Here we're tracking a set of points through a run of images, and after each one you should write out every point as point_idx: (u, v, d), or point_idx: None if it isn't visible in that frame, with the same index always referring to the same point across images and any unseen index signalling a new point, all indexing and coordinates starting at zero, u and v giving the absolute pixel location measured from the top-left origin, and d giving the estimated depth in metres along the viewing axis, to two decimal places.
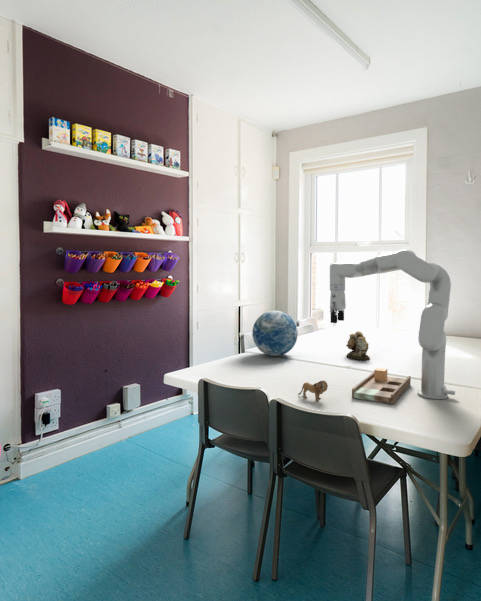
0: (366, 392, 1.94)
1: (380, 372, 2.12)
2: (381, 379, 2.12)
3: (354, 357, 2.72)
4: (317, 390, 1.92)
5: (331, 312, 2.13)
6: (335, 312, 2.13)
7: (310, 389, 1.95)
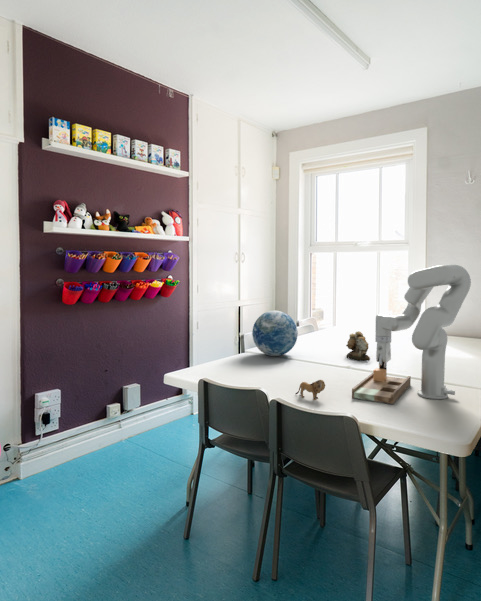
0: (366, 392, 1.94)
1: (379, 372, 2.12)
2: (380, 379, 2.12)
3: (354, 357, 2.72)
4: (315, 389, 1.93)
5: None
6: (384, 366, 2.16)
7: (308, 388, 1.96)
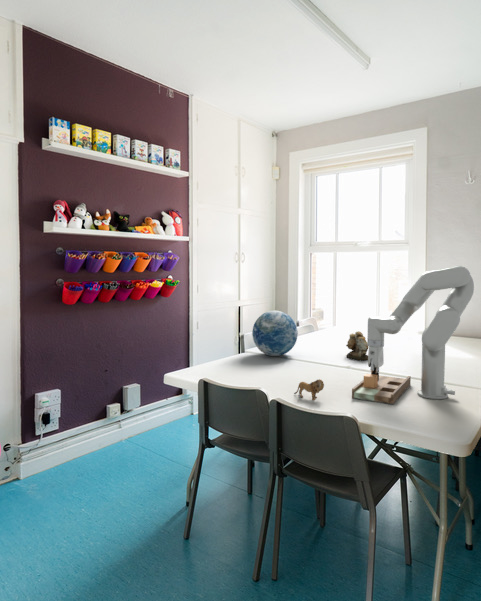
0: (366, 392, 1.94)
1: (369, 378, 2.01)
2: (371, 386, 2.01)
3: (354, 357, 2.72)
4: (314, 389, 1.94)
5: None
6: (376, 371, 2.05)
7: (306, 388, 1.97)
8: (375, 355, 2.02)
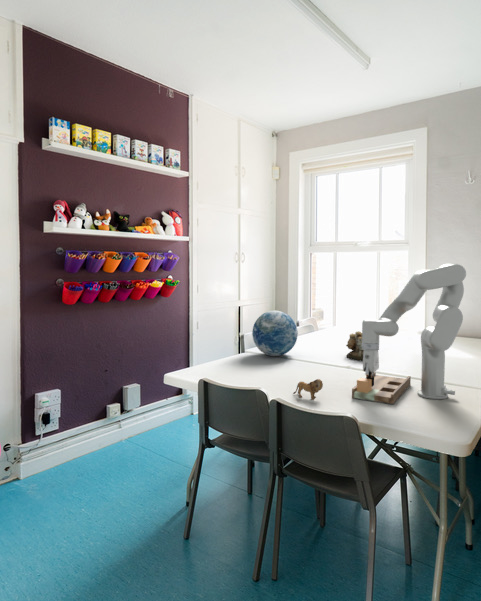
0: None
1: (363, 383, 1.94)
2: (364, 390, 1.94)
3: (354, 357, 2.72)
4: (313, 389, 1.94)
5: None
6: (371, 376, 1.98)
7: (305, 388, 1.97)
8: (370, 359, 1.94)
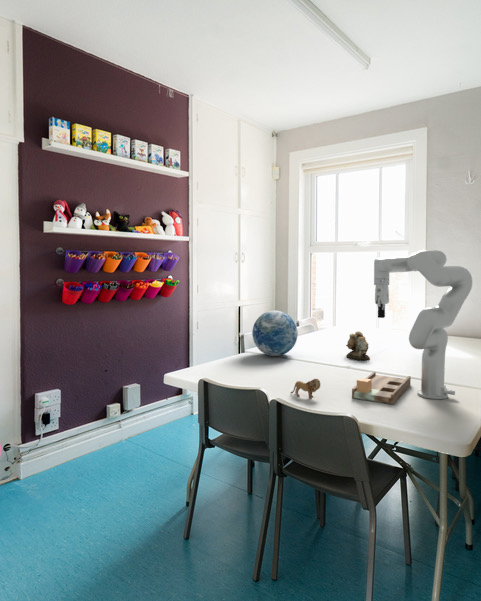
0: None
1: (363, 383, 1.94)
2: (364, 390, 1.94)
3: (354, 357, 2.72)
4: (310, 388, 1.95)
5: None
6: (382, 308, 2.22)
7: (303, 387, 1.98)
8: (381, 292, 2.19)
